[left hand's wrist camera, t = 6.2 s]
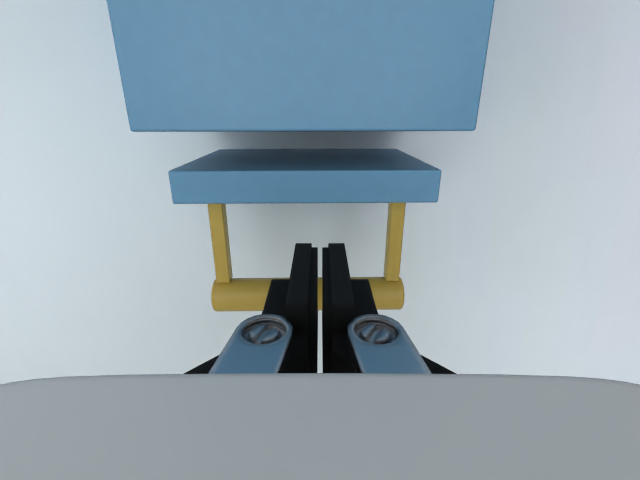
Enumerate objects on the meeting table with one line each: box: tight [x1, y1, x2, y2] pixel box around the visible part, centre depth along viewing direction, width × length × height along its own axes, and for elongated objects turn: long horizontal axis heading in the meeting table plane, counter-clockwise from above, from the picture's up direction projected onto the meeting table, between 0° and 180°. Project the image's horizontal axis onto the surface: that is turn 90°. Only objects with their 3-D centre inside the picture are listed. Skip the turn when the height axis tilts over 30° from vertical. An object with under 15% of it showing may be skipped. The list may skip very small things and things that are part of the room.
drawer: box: [168, 149, 441, 311], centre depth 14 cm, size 24×10×7 cm, turn 0°
